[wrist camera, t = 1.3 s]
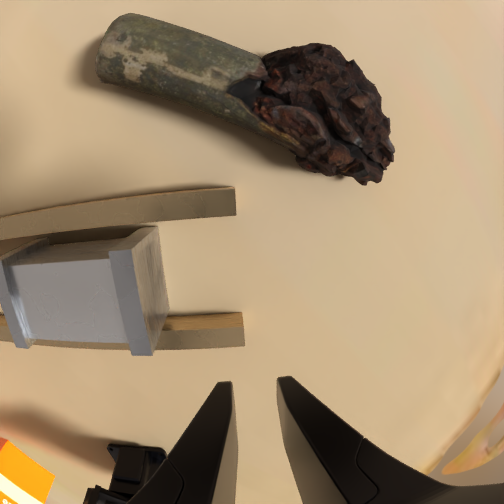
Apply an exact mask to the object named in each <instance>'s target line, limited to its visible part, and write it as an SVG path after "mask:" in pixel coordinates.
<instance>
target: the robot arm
mask: <svg viewBox="0 0 504 504" xmlns="http://www.w3.org/2000/svg"><path fill="white" fill-rule="evenodd" d="M277 405H278V411H279V418H280V424H281V430H282V436H283V442H284V446H285V450H286V453H287V456H288V459H289V462H290V466H291V469H292V472H293V475H294V478H295V481H296V484H297V487H298V490H299V493H300V496H301V499H302V502H303V504H504V483H500V484H489V485H476V486H453V485H448V484H444V483H441V482H439V481H436V480H434V479H432V478H430V477H428V476H426V475H425V474H423V473H421V472H419V471H417V470H415V469H413V468H411V467H409V466H407V465H406V464H404V463H402V462H400V461H399V460H397V459H395V458H394V457H392V456H390V455H389V454H387V453H386V452H384V451H383V450H381V449H380V448H379V447H377V446H376V445H374V444H373V443H372V442H370V441H369V440H368V439H367V438H364V436H363V435H361V434H360V433H359V432H358V431H356V430H355V429H354V428H352V427H351V426H350V425H349V424H348V423H346V422H345V421H344V420H343V419H341V418H340V417H339V416H338V415H336V414H335V413H334V412H333V411H332V410H330V409H329V408H328V407H327V406H326V405H324V404H323V403H322V402H321V401H320V400H318V399H317V398H316V397H315V396H314V395H313V394H311V393H310V392H309V391H308V390H307V389H306V388H304V387H303V386H302V385H301V384H300V383H299V382H298V381H296V380H295V379H294V378H293V377H292V376H283V377H278V378H277ZM363 438H364V439H363ZM107 449H108V451H109V453H110V454H111V456H112V458H113V459H114V461H115V462H116V464H115V467H114V471H113V474H112V479H111V483H110V487H109V490H106V489H104V488H101V486H98V485H96V486H95V488H88V490H87V493H86V496H85V499H84V502H83V504H235V495H236V479H237V463H238V439H237V426H236V413H235V401H234V393H233V385H232V382H231V381H226V382H218V383H217V384H216V386H215V387H214V389H213V390H212V392H211V393H210V395H209V396H208V398H207V399H206V401H205V402H204V404H203V405H202V407H201V408H200V410H199V411H198V412H197V414H196V415H195V417H194V418H193V420H192V421H191V423H190V424H189V426H188V427H187V429H186V430H185V431H184V433H183V434H182V436H181V437H180V439H179V440H178V442H177V443H176V444H175V446H174V447H173V449H172V450H171V451H170V453H169V454H168V456H167V454H166V452H165V451H164V450H163V449H154V448H141V447H130V446H121V445H113V444H108V446H107Z"/></svg>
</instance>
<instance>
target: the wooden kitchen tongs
mask: <svg viewBox="0 0 504 504" xmlns="http://www.w3.org/2000/svg"><path fill="white" fill-rule="evenodd" d="M222 216H236V200H235V188H234V187H223V188H209V189H197V190H185V191H174V192H164V193H154V194H145V195H136V196H128V197H120V198H112V199H104V200H97V201H90V202H83V203H77V204H70V205H64V206H58V207H52V208H46V209H41V210H35V211H30V212H25V213H19V214H14V215H9V216H5V217H0V240H4V239H11V238H18V237H25V236H32V235H40V234H48V233H55V232H63V231H72V230H80V229H89V228H98V227H107V226H117V225H127V224H137V223H147V222H158V221H170V220H182V219H195V218H208V217H222ZM0 341H7V342H14V340H13V338H12V335H11V333H10V330H9V327H8V324H7V321H6V319H5V316H4V315H0ZM32 345H43V346H54V347H68V348H85V349H110V350H130V347H129V343H102V342H76V341H59V340H45V339H37V340H36V341H35V342H34V343H33V344H32ZM239 346H245V339H244V326H243V317H242V312H241V313H227V314H211V315H193V316H170V317H166V320H165V323H164V325H163V328H162V331H161V333H160V336H159V339H158V342H157V345H156V347H155V350H181V349H207V348H225V347H239Z"/></svg>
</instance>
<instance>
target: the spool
mask: <svg viewBox="0 0 504 504" xmlns="http://www.w3.org/2000/svg"><path fill="white" fill-rule="evenodd" d="M0 303H1V306H2V310H3V313H4V316H5V319H6V321H7V324H8V327H9V330H10V333H11V335H12V338H13V340H14V343H15V345H16V347H18V348H26V349H29V348H30V346H31V345H32V344H33V343H34V342H35V341H36V340H37V339H45V340H59V341H76V342H102V343H129V347H130V351H131V354H132V355H133V356H153V353H154V350H155V347H156V345H157V342H158V339H159V336H160V333H161V331H162V328H163V325H164V323H165V320H166V317H167V314H168V312H169V309H170V307H169V301H168V295H167V289H166V282H165V276H164V269H163V261H162V254H161V246H160V238H159V229H158V226H152V227H141V228H139V229H138V230H137V231H135V232H134V233H132V234H131V235H130V236H128V237H127V238H119V239H108V240H97V241H87V242H77V243H67V244H57V245H49V239H48V237H47V238H39V239H35V240H33V241H31V242H29V243H26V244H24V245H22V246H20V247H18V248H16V249H14V250H12V251H10V252H8V253H6V254H4V255H1V256H0Z"/></svg>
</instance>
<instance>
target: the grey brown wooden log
mask: <svg viewBox="0 0 504 504" xmlns="http://www.w3.org/2000/svg"><path fill="white" fill-rule="evenodd" d="M95 63H96V73H97V75H98V77H99V78H100V81H101V82H103V83H108V84H113V85H117V86H122V87H126V88H130V89H134V90H138V91H142V92H145V93H148V94H151V95H155V96H158V97H162V98H165V99H168V100H172V101H175V102H178V103H181V104H184V105H187V106H190V107H193V108H195V109H197V110H200V111H202V112H205V113H208V114H211V115H213V116H216V117H218V118H221V119H224V120H226V121H229V122H231V123H234V124H236V125H238V126H241V127H243V128H245V129H247V130H250V131H252V132H255V133H257V134H259V135H261V136H264V137H266V138H268V139H270V140H272V141H274V142H276V143H278V144H280V145H282V146H284V147H286V148H287V149H288V150H289V151H290V152H292V153H293V154H294V155H296V161H297V163H298V165H299V166H301V167H302V168H304V169H305V170H307V171H310V172H314V173H322V174H324V175H326V176H334V175H338V174H341V175H345V176H349V177H353V178H354V179H355V180H356V181H357V182H358V183H360V184H361V185H367V182H368V181H373V182H375V183H379V182H381V180H382V176H383V170H387V168H386V167H387V166H389V164H390V162H394V155H393V153H394V152H395V148H394V146H393V144H392V143H391V141H390V139H389V134H390V132H391V131H390V118H387V117H386V116H385V115H384V114H383V113H382V110H381V96H380V94H379V93H378V91H377V88H376V87H375V86H374V85H375V84H373V83H371V82H370V81H369V80H368V79H366V77H365V75H364V74H363V71H362V70H361V69H360V68H359V66H358V65H357V64H356V62H355V61H354V60H351V61H349V62H348V61H347V60H346V59H345V58H344V56H343V55H342V54H341V52H340V51H339V50H337V49H336V48H335V47H332V46H331V45H326V44H320V43H310V44H308V45H305V46H299V47H296V46H293V47H291V48H286V49H282V50H277V51H274V52H271V53H269V54H267V55H265V56H264V57H262V58H261V59H260V57H259V56H257V55H255V54H252V53H250V52H247V51H245V50H242V49H240V48H237V47H235V46H232V45H230V44H227V43H225V42H222V41H220V40H217V39H214V38H212V37H209V36H206V35H204V34H201V33H198V32H195V31H192V30H189V29H186V28H183V27H180V26H176V25H173V24H170V23H167V22H164V21H161V20H157V19H154V18H150V17H147V16H143V15H139V14H134V13H128V14H125V15H122V16H119V17H118V18H117V19H115V20H114V21H113V22H112V23H111V25H110V26H109V28H108V29H107V31H106V33H105V36H104V38H103V40H102V42H101V45H100V47H99V50H98V54H97V57H96V62H95Z"/></svg>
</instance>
